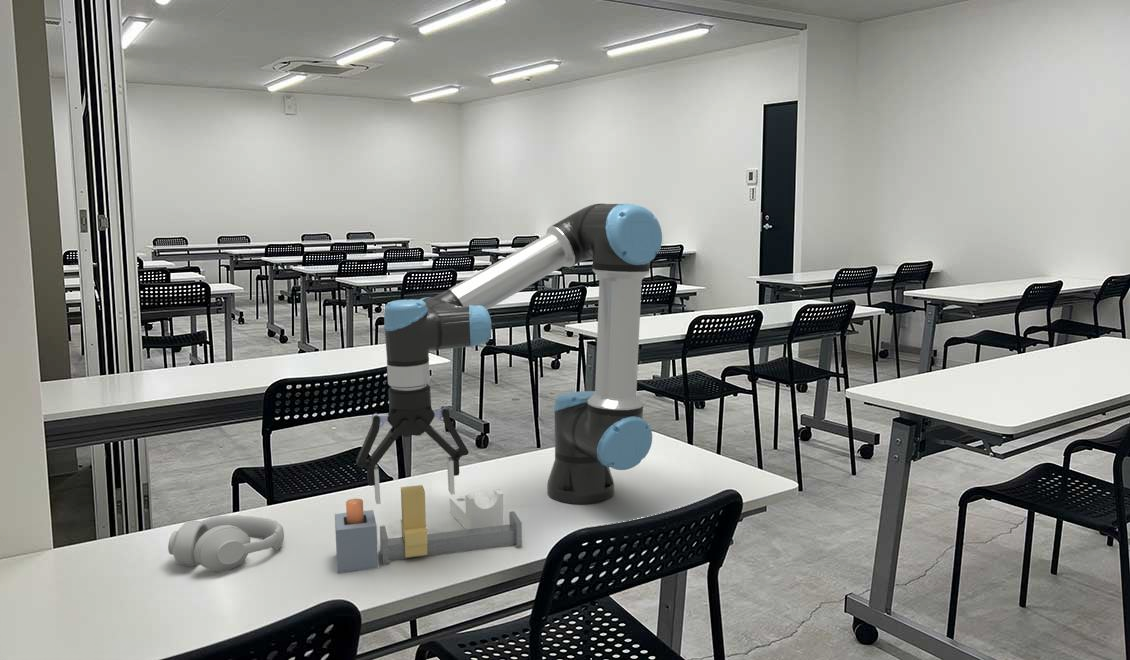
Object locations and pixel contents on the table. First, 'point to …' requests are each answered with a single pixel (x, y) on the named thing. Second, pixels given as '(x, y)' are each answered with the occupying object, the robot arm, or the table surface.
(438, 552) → the rail
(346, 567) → the housing
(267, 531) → the headphones
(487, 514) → the bracket
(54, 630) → the table surface
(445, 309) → the robot arm
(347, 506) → the plunger
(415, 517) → the carriage
